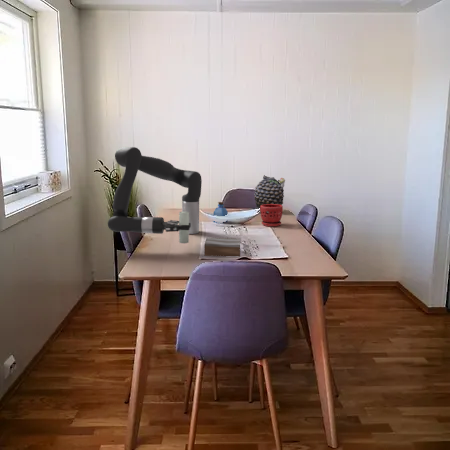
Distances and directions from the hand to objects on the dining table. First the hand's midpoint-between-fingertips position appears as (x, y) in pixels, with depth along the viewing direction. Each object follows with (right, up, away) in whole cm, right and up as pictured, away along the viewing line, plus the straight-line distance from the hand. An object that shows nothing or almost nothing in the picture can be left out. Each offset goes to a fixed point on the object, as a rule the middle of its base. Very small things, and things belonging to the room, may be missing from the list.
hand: (189, 226), depth 216 cm
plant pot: (+43, 0, +64) cm, 77 cm away
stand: (+15, -12, +2) cm, 19 cm away
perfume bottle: (+13, +2, +70) cm, 71 cm away
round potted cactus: (+45, +9, +103) cm, 113 cm away
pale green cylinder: (-3, -7, +2) cm, 8 cm away
